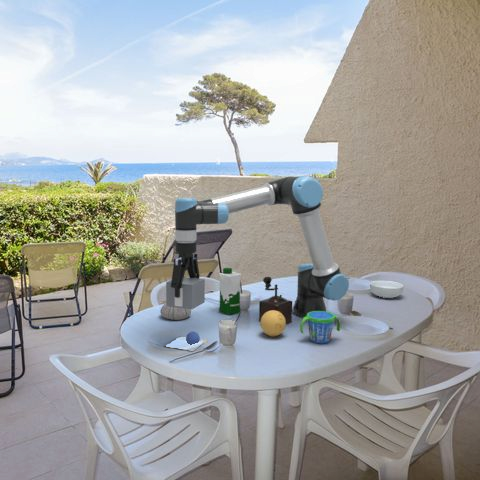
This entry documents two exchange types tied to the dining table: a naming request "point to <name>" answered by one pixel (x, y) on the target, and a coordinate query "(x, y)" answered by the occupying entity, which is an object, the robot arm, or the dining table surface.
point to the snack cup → (320, 325)
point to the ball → (192, 338)
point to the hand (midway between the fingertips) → (185, 302)
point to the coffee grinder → (275, 303)
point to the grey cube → (187, 293)
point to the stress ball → (273, 323)
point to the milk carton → (229, 292)
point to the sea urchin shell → (174, 312)
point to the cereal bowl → (386, 288)
